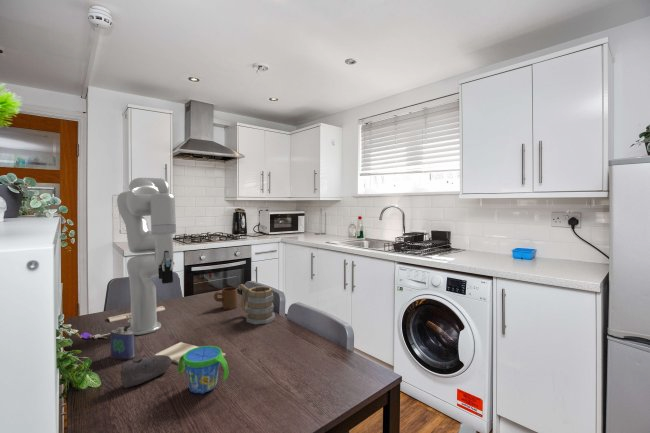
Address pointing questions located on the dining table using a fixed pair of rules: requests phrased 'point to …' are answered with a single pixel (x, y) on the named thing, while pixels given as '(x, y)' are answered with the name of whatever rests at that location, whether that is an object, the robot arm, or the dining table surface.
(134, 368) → the perforated stone tool
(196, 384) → the snack cup
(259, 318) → the tankard
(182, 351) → the birch board
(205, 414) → the dining table surface
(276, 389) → the dining table surface
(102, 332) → the dining table surface
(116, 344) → the flask
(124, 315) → the newspaper
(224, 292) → the mug
